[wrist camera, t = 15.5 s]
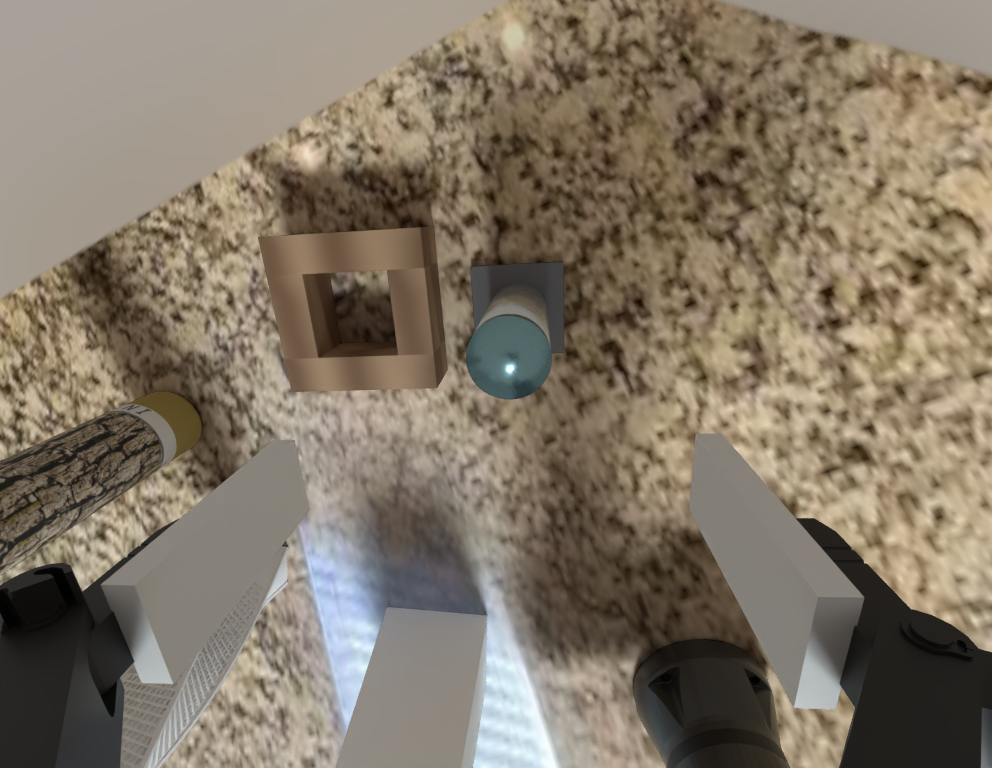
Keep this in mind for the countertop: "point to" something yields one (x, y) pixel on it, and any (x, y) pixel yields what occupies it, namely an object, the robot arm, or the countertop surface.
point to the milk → (420, 693)
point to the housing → (313, 321)
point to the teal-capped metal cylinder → (511, 344)
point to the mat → (535, 274)
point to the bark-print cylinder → (88, 469)
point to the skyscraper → (191, 678)
